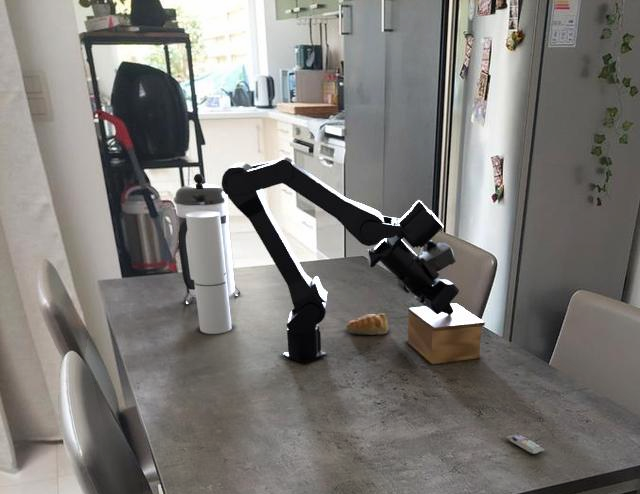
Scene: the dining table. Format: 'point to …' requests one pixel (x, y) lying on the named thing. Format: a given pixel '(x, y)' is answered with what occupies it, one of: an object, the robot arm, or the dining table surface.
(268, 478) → the dining table surface
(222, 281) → the cylindrical container
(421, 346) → the caddy
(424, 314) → the lid
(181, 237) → the coffee press
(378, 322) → the pastry
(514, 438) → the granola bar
